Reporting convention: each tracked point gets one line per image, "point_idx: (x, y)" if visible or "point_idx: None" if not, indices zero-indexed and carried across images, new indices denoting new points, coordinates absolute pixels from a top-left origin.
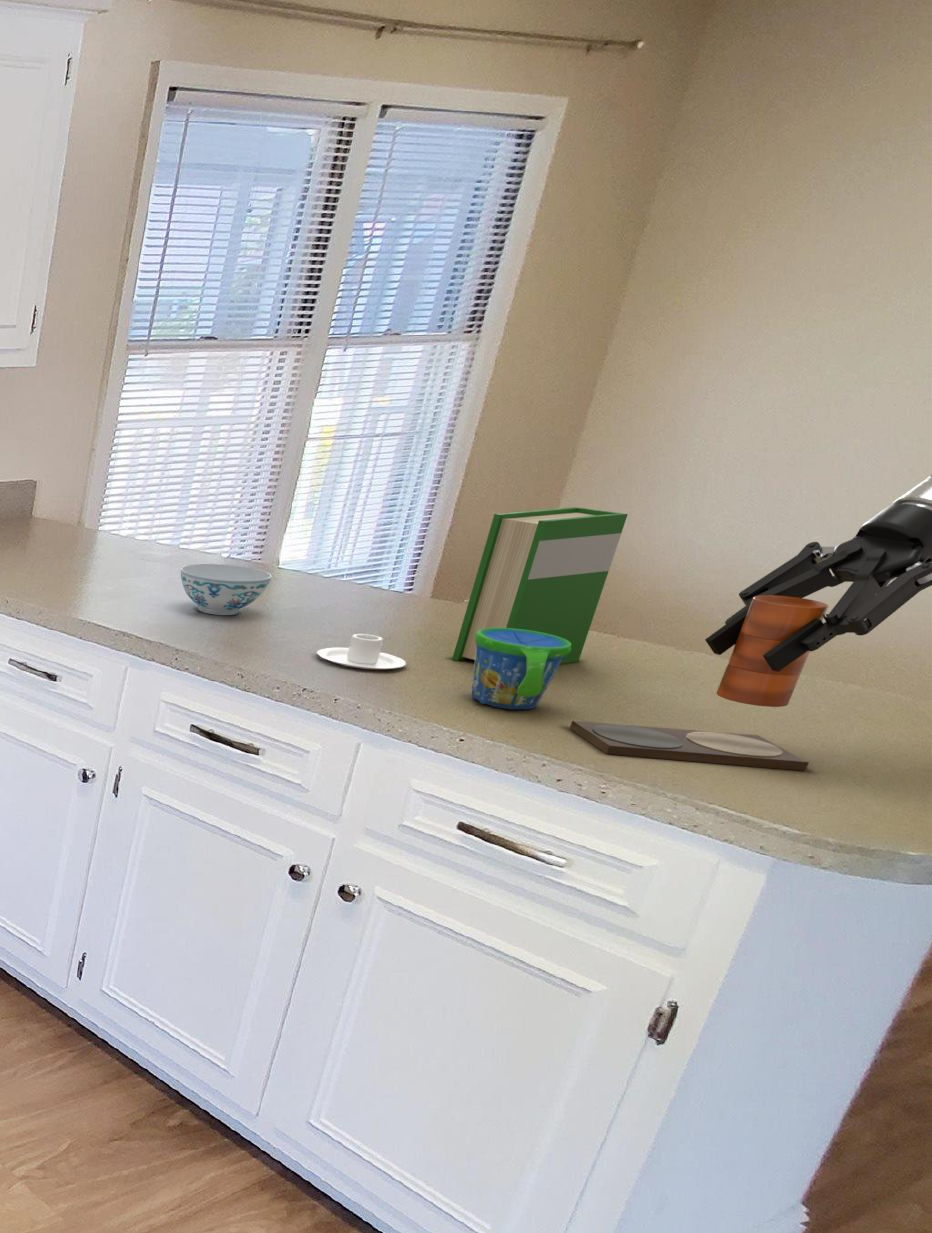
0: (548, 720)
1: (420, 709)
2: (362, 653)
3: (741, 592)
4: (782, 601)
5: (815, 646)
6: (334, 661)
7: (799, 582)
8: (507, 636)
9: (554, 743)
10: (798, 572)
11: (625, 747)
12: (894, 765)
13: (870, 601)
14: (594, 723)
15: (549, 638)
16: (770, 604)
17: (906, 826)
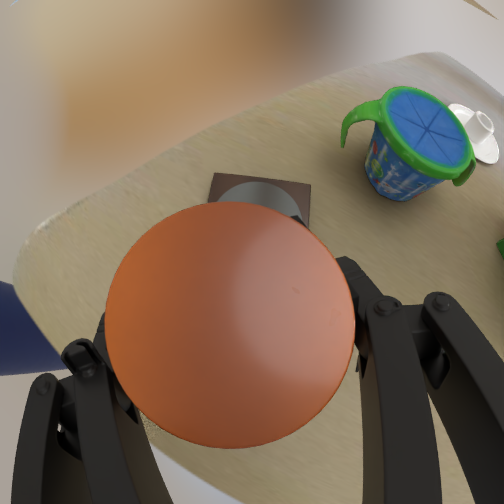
0: (338, 186)
1: (338, 94)
2: (468, 121)
3: (451, 299)
4: (217, 285)
5: None
6: (451, 104)
7: (383, 442)
8: (443, 127)
9: (247, 147)
10: (487, 475)
11: (211, 186)
12: (226, 483)
13: (36, 457)
14: (304, 203)
15: (449, 161)
16: (178, 212)
17: (45, 333)
